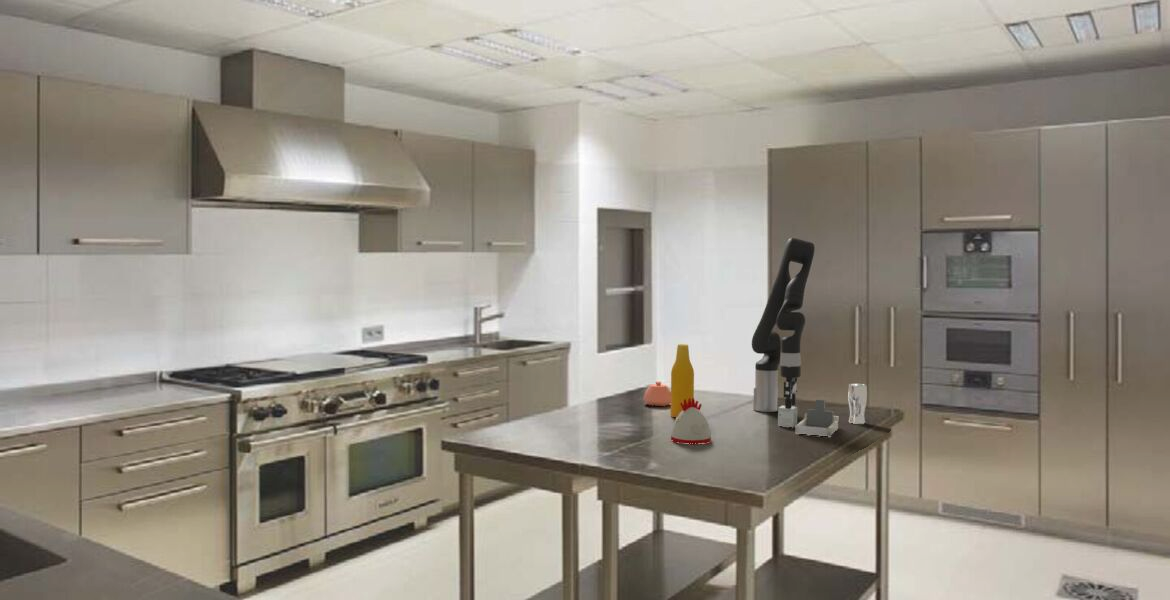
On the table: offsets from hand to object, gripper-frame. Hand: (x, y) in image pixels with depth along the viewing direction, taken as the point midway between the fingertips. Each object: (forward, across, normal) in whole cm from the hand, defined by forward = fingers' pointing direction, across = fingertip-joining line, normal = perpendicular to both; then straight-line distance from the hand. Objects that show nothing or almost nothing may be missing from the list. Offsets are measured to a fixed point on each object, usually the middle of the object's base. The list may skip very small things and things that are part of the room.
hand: (790, 406), depth 324 cm
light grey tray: (+8, +5, +11) cm, 14 cm away
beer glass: (+8, -17, +22) cm, 29 cm away
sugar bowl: (+6, -21, -60) cm, 65 cm away
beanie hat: (+8, +40, -27) cm, 49 cm away
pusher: (+7, 0, +11) cm, 13 cm away
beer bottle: (+7, 0, -43) cm, 44 cm away
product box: (+8, 0, -1) cm, 8 cm away
